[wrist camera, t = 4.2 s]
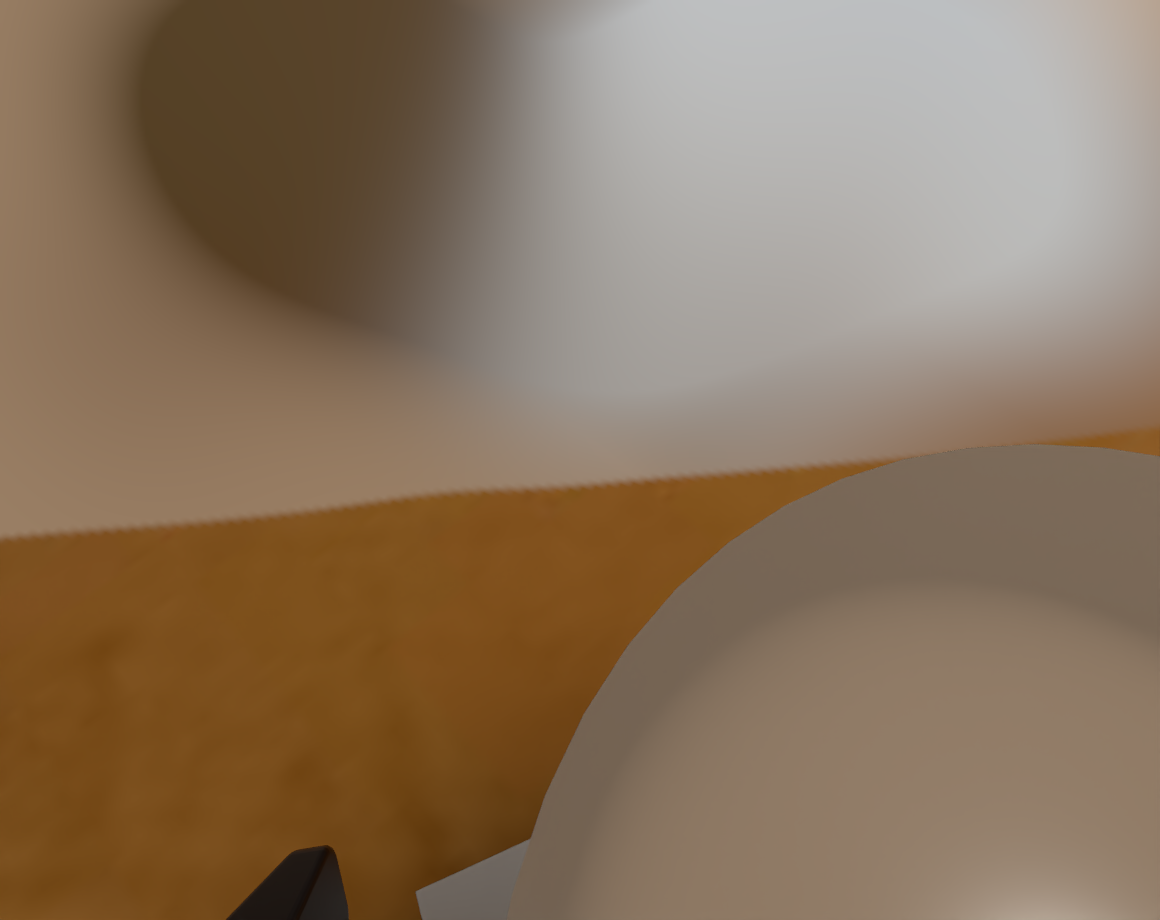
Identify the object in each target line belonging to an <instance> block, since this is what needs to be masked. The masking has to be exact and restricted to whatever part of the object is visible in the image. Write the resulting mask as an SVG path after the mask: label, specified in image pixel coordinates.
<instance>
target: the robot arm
mask: <svg viewBox="0 0 1160 920" xmlns="http://www.w3.org/2000/svg"><path fill="white" fill-rule="evenodd" d="M226 920H349V918H348V905H347V901H346V896H345V892H344V887H343V883H342V879H341V874H340V870H339V865H338V861H337V857H336V854H335V852H334V850H333V848H331V847H329V846H328V845H324V846H318V847H312V848H305V849H299V850H296V851H294V852H292V853H291V854H289V855H288V856H287V857H286V858H285V859H284V860H283V861H282V862H281V863H280V864H279V865H278V866H277V867H276V868H275V870H274V871H273V872H272V873H271V874H270V875H269V876H268V877H267V878H266V879H265V880H264V881H263V882H262V883H261V884H260V885H259V886H258V887H257V888H256V889H255V890H254V891H253V892H252V893H251V894H250V895H249V896H248V897H247V898H246V899H245V900H244V901H243V903H242V904H241V905H240V906H239V907H238V908H237V909H236V910H235V911H234V912H233V913H232V914H231V915H230V916H229V917H228V918H227V919H226Z"/></svg>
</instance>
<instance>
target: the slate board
mask: <svg viewBox="0 0 1160 920" xmlns="http://www.w3.org/2000/svg"><path fill="white" fill-rule="evenodd" d="M529 842H530V839H529V840H527V841H525V842H523V843H520V844H518V845H516V846H514V847H512V848H510V849H507V850H505V851H503V852H501V853H499V854H496V855H494V856H492V857H490V858H488V859H486V860H483V861H481V862H479V863H477V864H475V865H472V866H470V867H468V868H466V869H464V870H462V871H459V872H457V873H455V874H453V875H451V876H448V877H446V878H444V879H442V880H440V881H438V882H435V883H433V884H431V885H429V886H427V887H424V888H422V889H420V890H418V891H416V896H417V900H418V904H419V908H420V912H421V916H422V920H507V915H508V911H509V906H510V902H511V897H512V893H513V890H514V887H515V884H516V881H517V878H518V875H519V872H520V869H521V866H522V863H523V860H524V857H525V854H526V851H527V848H528V845H529Z"/></svg>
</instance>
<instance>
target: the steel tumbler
mask: <svg viewBox="0 0 1160 920" xmlns="http://www.w3.org/2000/svg"><path fill="white" fill-rule="evenodd" d="M507 920H1160V456H1154V455H1147V454H1141V453H1134V452H1128V451H1121V450H1115V449H1108V448H1097V447H1078V446H1059V445H1039V444H1030V445H1012V446H995V447H978V448H965V449H960V450H954V451H948V452H943V453H937V454H932V455H926V456H920V457H915V458H909V459H904V460H900V461H897V462H894V463H891V464H888V465H884V466H881V467H878V468H875V469H872V470H869V471H865V472H862V473H859V474H856V475H853V476H850V477H846V478H843V479H841V480H839V481H836V482H834V483H832V484H830V485H828V486H826V487H824V488H822V489H820V490H817V491H815V492H813V493H811V494H809V495H807V496H805V497H803V498H800V499H798V500H796V501H794V502H792V503H790V504H788V505H786V506H784V507H782V508H781V509H779V510H778V511H776V512H774V513H773V514H771V515H770V516H768V517H767V518H765V519H764V520H762V521H761V522H759V523H758V524H756V525H755V526H753V527H752V528H750V529H749V530H747V531H746V532H744V533H742V534H741V535H739V536H738V537H736V538H735V539H733V540H732V541H730V542H729V543H728V544H726V545H725V546H724V547H723V548H722V549H721V550H720V551H719V552H717V553H716V554H715V555H714V556H713V557H712V558H711V559H709V560H708V561H707V562H706V563H705V564H704V565H703V566H702V567H700V568H699V569H698V570H697V571H696V572H695V573H694V574H692V575H691V576H690V577H689V578H688V579H687V580H686V581H685V582H683V583H682V584H681V585H680V586H679V587H678V588H677V589H676V590H675V591H674V592H673V593H672V594H671V596H670V597H669V598H668V599H667V600H666V601H665V603H664V604H663V605H662V606H661V607H660V608H659V610H658V611H657V612H656V613H655V614H654V616H653V617H652V618H651V619H650V620H649V621H648V623H647V624H646V625H645V626H644V627H643V628H642V630H641V631H640V632H639V633H638V634H637V635H636V637H635V638H634V639H633V640H632V641H631V642H630V644H629V645H628V646H627V648H626V649H625V651H624V652H623V654H622V656H621V657H620V659H619V660H618V662H617V663H616V665H615V666H614V668H613V669H612V671H611V673H610V674H609V676H608V677H607V679H606V680H605V682H604V683H603V685H602V687H601V688H600V690H599V691H598V693H597V694H596V696H595V697H594V699H593V701H592V702H591V704H590V705H589V707H588V708H587V710H586V711H585V713H584V715H583V717H582V719H581V721H580V723H579V725H578V727H577V730H576V732H575V734H574V736H573V738H572V740H571V742H570V744H569V746H568V749H567V751H566V753H565V755H564V757H563V759H562V761H561V763H560V765H559V767H558V770H557V772H556V774H555V776H554V778H553V780H552V782H551V784H550V786H549V788H548V791H547V793H546V795H545V797H544V800H543V803H542V806H541V809H540V812H539V815H538V818H537V821H536V824H535V827H534V830H533V833H532V836H531V839H530V842H529V845H528V848H527V851H526V854H525V857H524V860H523V863H522V866H521V869H520V872H519V875H518V878H517V881H516V884H515V887H514V890H513V893H512V897H511V902H510V906H509V911H508V915H507Z"/></svg>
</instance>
